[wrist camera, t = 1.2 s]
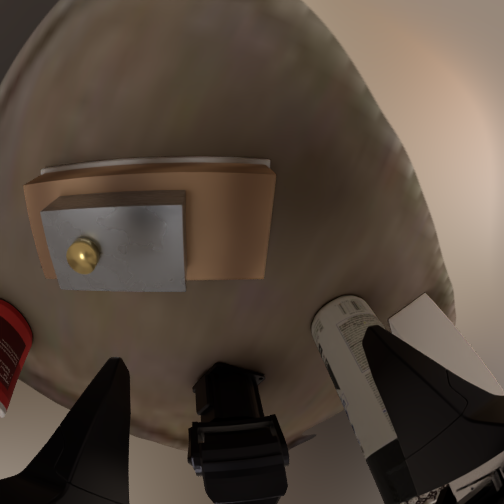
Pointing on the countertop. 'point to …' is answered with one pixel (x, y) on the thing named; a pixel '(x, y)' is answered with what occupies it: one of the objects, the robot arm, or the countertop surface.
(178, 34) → the countertop surface
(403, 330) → the milk
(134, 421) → the countertop surface
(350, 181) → the countertop surface
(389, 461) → the spray can
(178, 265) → the lever cap
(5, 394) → the canned food
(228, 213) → the body
